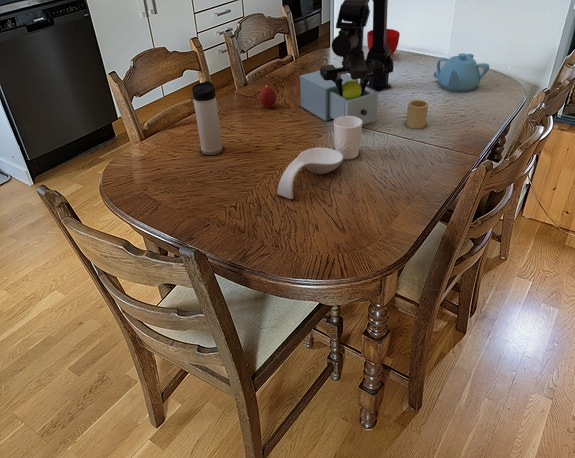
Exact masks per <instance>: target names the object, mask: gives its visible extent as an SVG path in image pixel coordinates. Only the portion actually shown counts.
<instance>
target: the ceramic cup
mask: <svg viewBox="0 0 575 458" xmlns="http://www.w3.org/2000/svg"><path fill="white" fill-rule="evenodd" d="M366 33H367V34H366V39H367V40H366V41H367V42H366V43H367V50H368V51H369V50H370V48H371V47H372V45H373V29H371V30H368V32H366ZM400 34H401V33H400V31H399V30H396V29H392V28H387V34H386V42H387V44H388V46H389V47H390V49H391V56H392V57H393V56H394V54H395V53H396V51H397V48H398V46H399V43H400V42H399V41H400V37H401V36H400Z"/></svg>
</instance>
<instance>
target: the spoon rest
mask: <svg viewBox="0 0 575 458" xmlns="http://www.w3.org/2000/svg"><path fill="white" fill-rule="evenodd" d="M343 160H344V159H343V155H342V154H341V153H340V152H338V151H336V150H335V149H333V148H328V147H312V148H308V149H305V150H303V151H301V152H300V153H299V154H298V155H297V157H296V158H294V160H292V161H291V162H290V163H289V164H288V165H287V167H286V168H285V170H284V171H283V173H282V175H281V178H280V179H279V183H278V186H277V190H276V191H277V192H276V193H277V195H279V196H281V197H284V198H285V199H289V200H293V199H294V188H293V187H294V181H295V178H296V176H297V174H298V173H299V172H300V170H302V168H303V167H305V168H306V170H307V171H310V172H311V173H313V174H315V175H325V174H328V173H330V172H332V171H334V170H336V169H337V168H338V167H339V166H340V165H341V164H342V163H343Z"/></svg>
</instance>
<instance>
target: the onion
mask: <svg viewBox="0 0 575 458" xmlns="http://www.w3.org/2000/svg"><path fill="white" fill-rule="evenodd" d="M258 97H259V98H258V99H259V102H260V104H262V105H263V106H264V107H265V108H266V109H270V108H271V107H272V106H274V105H275V104H276V102H277V98H278V97H277V93H276V92H275V90H274V89H273V88H272V87H270V86H269V85H267V84H265V87H264V88H262V90H261V91H260V93H259V96H258Z"/></svg>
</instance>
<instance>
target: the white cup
mask: <svg viewBox="0 0 575 458" xmlns="http://www.w3.org/2000/svg"><path fill="white" fill-rule="evenodd" d="M362 130H363V125H362V120H361V119H360V118H358V117H354V116H342V117H338V118H336V119H335V120H334V119H333V140H334V141H333V142H334V143H333V144H334V150H336V151H338V152H340V153H341V154H342V155H343V160H352V159H356V158H357V157H358V156H359V154H360V153H359V151H360V146H361V140H362V132H363V131H362Z"/></svg>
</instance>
